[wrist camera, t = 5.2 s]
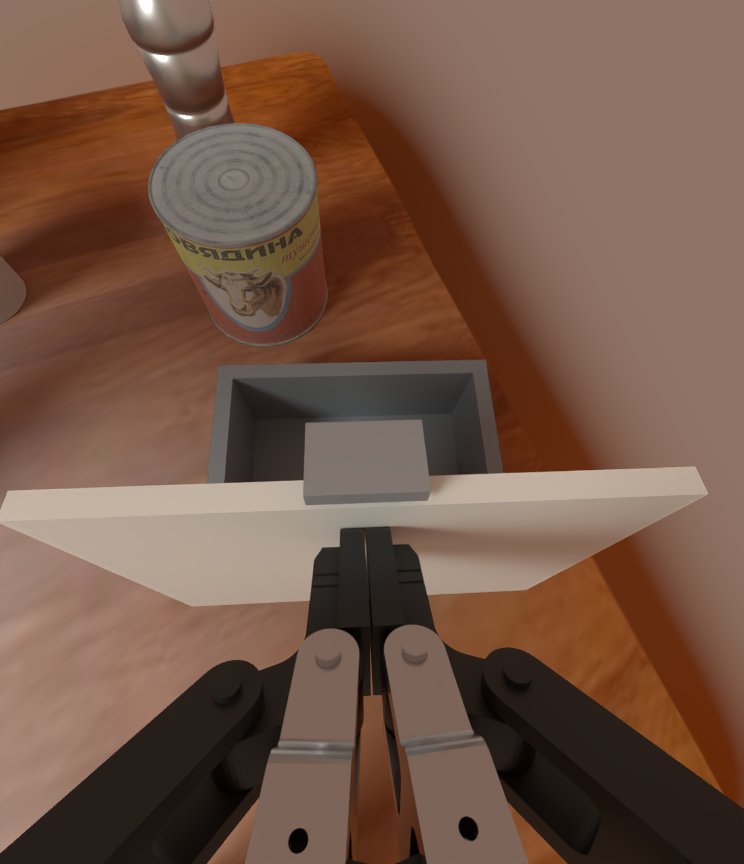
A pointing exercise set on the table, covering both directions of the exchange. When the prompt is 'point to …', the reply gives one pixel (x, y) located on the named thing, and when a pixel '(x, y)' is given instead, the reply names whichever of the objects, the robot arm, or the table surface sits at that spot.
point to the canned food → (246, 228)
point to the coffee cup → (10, 291)
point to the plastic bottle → (181, 59)
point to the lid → (351, 519)
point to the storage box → (349, 413)
